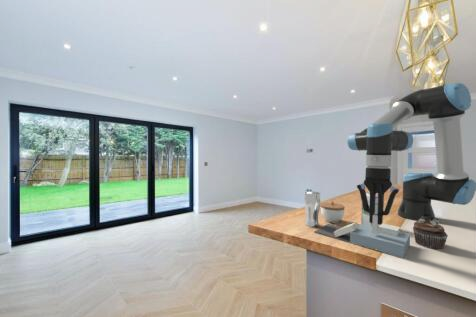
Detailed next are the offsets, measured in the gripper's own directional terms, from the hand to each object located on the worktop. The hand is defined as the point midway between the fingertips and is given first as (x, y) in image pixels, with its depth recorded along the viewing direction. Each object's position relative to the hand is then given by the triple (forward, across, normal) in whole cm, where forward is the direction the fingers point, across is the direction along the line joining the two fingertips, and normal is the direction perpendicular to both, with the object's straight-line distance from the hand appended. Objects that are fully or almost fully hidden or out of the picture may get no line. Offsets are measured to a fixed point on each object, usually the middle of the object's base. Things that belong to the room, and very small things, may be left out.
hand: (375, 232), depth 79 cm
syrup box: (+5, -8, +24) cm, 26 cm away
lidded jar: (+5, -22, +17) cm, 29 cm away
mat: (+5, -14, +3) cm, 16 cm away
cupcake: (+5, +14, +17) cm, 22 cm away
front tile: (+2, -9, 0) cm, 10 cm away
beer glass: (+5, -26, +4) cm, 27 cm away
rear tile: (+1, +2, +8) cm, 8 cm away
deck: (+5, +1, +4) cm, 6 cm away
